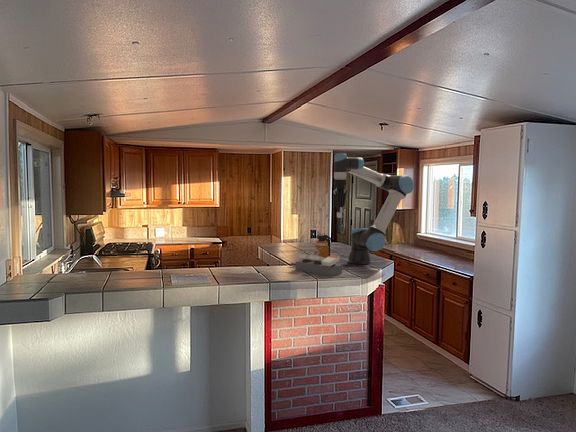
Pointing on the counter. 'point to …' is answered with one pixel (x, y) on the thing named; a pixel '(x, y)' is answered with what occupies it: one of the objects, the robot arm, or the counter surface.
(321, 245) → the canister
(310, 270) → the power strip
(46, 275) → the counter surface
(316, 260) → the rocker
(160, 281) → the counter surface
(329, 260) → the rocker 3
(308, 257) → the rocker
